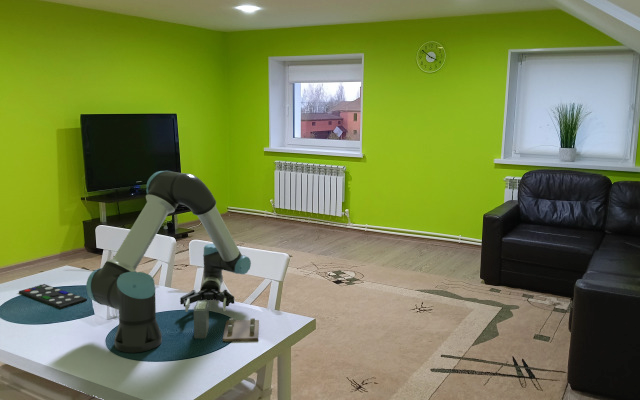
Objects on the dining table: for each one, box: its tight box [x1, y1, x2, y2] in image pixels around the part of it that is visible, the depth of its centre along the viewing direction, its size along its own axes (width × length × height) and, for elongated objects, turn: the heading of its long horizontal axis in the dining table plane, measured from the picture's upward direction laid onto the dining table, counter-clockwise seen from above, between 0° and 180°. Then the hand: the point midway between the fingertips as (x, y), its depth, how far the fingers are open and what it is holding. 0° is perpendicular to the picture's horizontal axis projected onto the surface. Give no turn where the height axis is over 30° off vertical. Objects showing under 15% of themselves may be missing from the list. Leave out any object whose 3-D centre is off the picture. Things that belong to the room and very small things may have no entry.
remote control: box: [18, 283, 88, 310], centre depth 227 cm, size 11×30×2 cm, turn 57°
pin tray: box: [222, 317, 260, 342], centre depth 197 cm, size 12×16×4 cm
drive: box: [193, 300, 210, 339], centre depth 195 cm, size 4×10×10 cm, turn 5°
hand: (205, 308), depth 203 cm, fingers open, 13 cm apart
